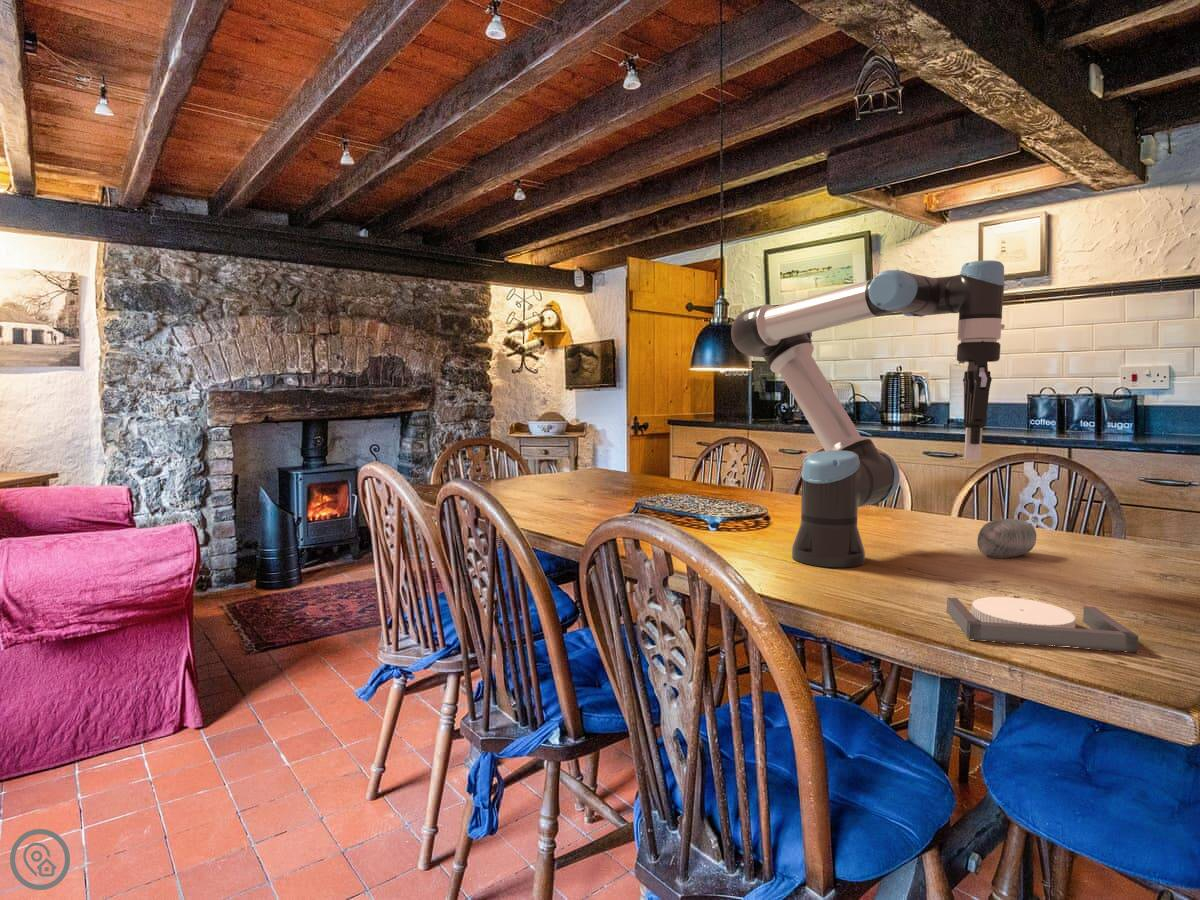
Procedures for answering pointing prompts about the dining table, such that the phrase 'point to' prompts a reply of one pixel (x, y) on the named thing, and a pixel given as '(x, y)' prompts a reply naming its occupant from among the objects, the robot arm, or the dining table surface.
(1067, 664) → the dining table surface
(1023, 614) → the plastic lid
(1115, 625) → the bracket
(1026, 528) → the grey yarn skein
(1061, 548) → the dining table surface
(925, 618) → the dining table surface
